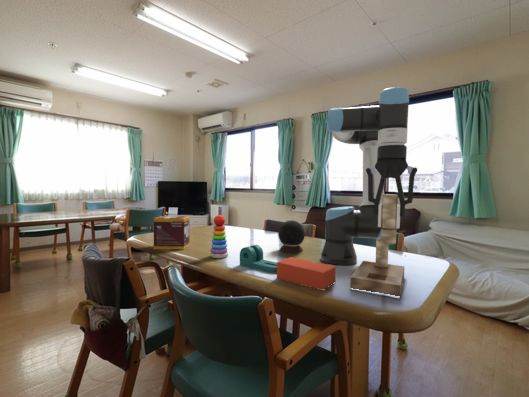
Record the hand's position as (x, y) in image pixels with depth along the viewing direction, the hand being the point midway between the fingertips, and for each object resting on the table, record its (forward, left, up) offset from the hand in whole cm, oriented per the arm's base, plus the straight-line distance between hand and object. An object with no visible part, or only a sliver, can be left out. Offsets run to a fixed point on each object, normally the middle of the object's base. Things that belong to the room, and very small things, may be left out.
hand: (388, 226), depth 80 cm
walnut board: (-3, +11, -21) cm, 24 cm away
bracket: (-46, +6, -21) cm, 51 cm away
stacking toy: (-70, +10, -21) cm, 74 cm away
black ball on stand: (-47, +38, -21) cm, 65 cm away
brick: (-26, +1, -21) cm, 33 cm away
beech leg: (0, 0, -5) cm, 5 cm away
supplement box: (-102, +12, -21) cm, 105 cm away
